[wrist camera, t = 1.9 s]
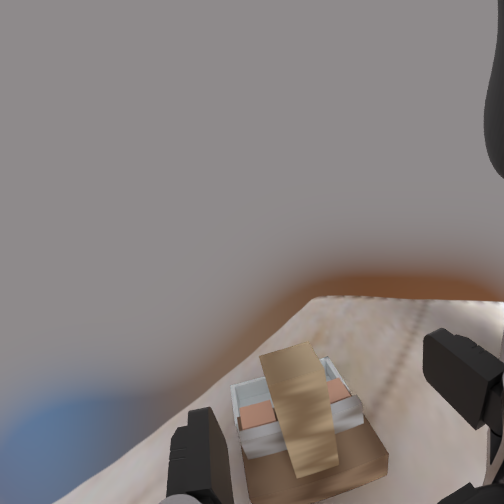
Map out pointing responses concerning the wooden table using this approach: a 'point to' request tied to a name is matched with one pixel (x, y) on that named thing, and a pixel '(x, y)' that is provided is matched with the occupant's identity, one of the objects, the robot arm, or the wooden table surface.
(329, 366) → the tray
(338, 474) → the board
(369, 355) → the wooden table surface
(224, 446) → the robot arm
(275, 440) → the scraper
